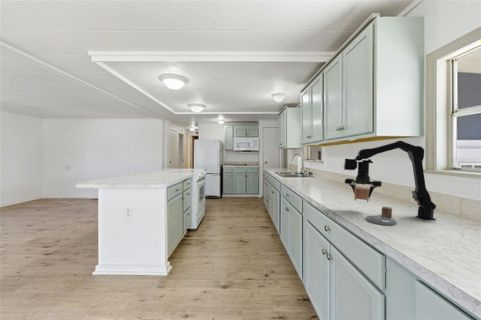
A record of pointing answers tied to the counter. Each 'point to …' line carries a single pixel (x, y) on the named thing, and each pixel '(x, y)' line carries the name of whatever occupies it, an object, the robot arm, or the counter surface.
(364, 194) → the terracotta hood
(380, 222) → the slate dish
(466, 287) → the counter surface
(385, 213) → the walnut block
